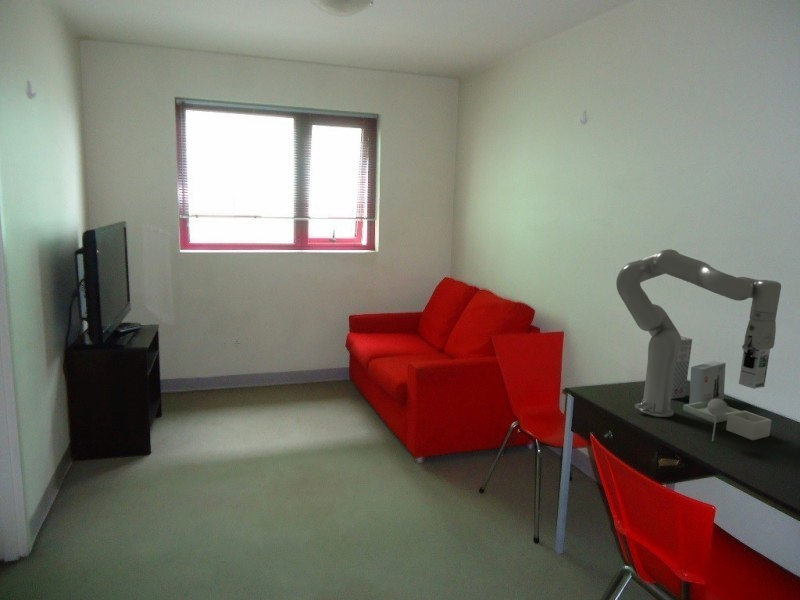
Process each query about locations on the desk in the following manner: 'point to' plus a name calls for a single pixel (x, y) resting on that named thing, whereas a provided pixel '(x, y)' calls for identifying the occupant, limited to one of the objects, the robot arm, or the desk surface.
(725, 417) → the tray
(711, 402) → the lollipop
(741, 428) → the white open storage bin
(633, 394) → the desk surface
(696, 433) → the desk surface
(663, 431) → the desk surface
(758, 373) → the syrup box
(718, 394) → the skincare box
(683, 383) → the box
